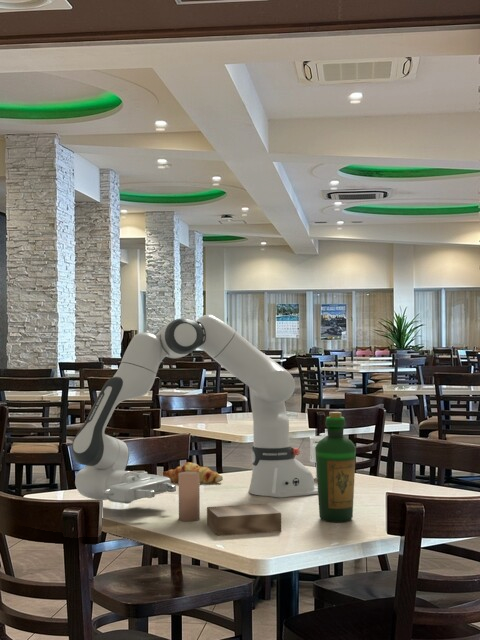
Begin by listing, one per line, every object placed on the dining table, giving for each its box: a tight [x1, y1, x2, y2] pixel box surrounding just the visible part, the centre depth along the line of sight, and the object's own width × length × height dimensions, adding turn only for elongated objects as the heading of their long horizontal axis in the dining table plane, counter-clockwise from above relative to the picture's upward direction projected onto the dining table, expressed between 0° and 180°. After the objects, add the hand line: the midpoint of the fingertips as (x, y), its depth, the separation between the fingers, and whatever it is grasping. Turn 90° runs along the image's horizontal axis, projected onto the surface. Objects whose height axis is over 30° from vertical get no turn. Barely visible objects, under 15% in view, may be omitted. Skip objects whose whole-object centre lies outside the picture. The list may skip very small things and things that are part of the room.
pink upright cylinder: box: [178, 472, 201, 522], centre depth 214 cm, size 6×6×12 cm
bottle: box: [315, 411, 357, 523], centre depth 213 cm, size 11×11×28 cm
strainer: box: [309, 432, 327, 479], centre depth 278 cm, size 7×7×15 cm
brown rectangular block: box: [206, 503, 282, 536], centre depth 203 cm, size 16×12×4 cm
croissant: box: [162, 461, 224, 485], centre depth 271 cm, size 21×10×8 cm, turn 75°
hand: (163, 491), depth 219 cm, fingers open, 8 cm apart
